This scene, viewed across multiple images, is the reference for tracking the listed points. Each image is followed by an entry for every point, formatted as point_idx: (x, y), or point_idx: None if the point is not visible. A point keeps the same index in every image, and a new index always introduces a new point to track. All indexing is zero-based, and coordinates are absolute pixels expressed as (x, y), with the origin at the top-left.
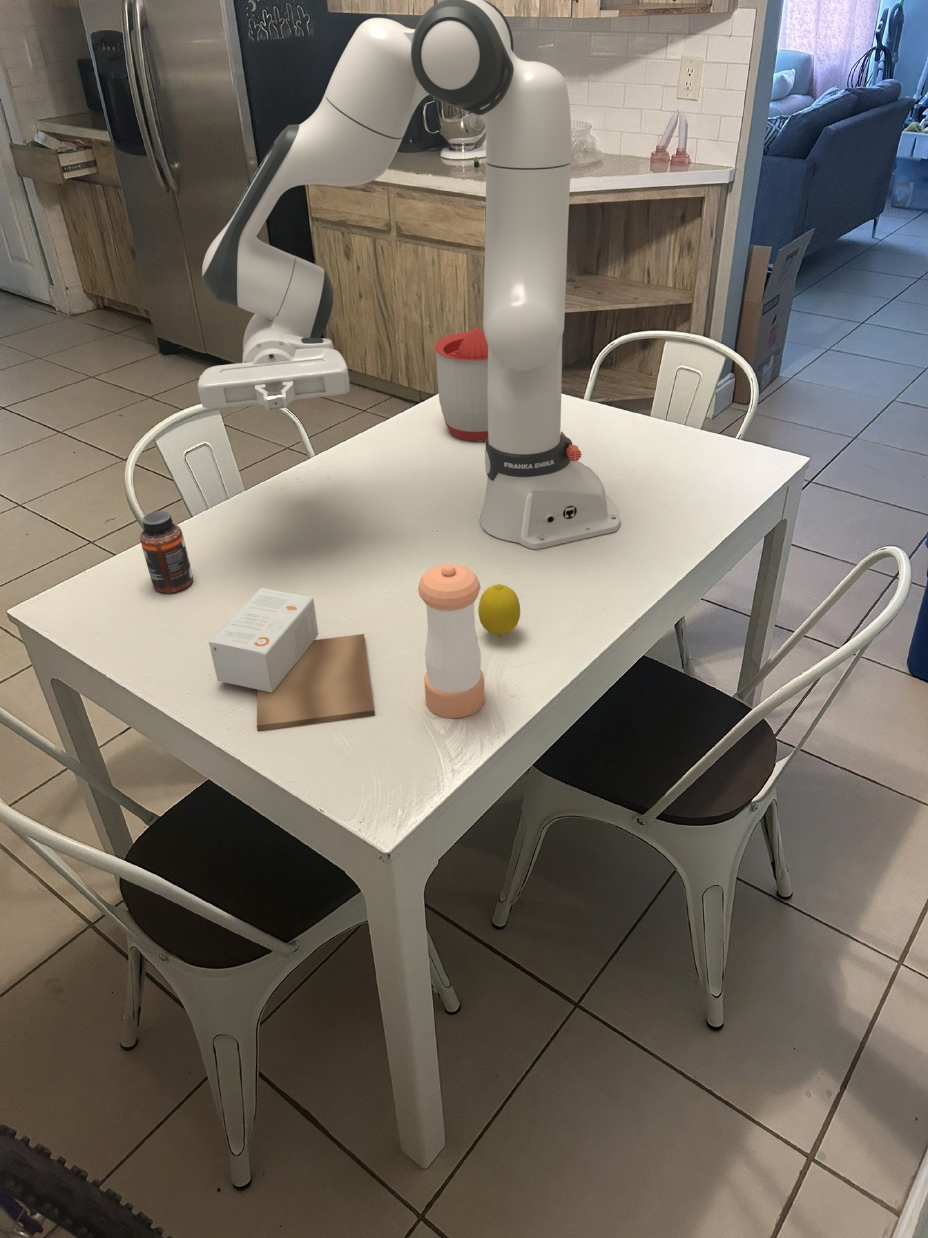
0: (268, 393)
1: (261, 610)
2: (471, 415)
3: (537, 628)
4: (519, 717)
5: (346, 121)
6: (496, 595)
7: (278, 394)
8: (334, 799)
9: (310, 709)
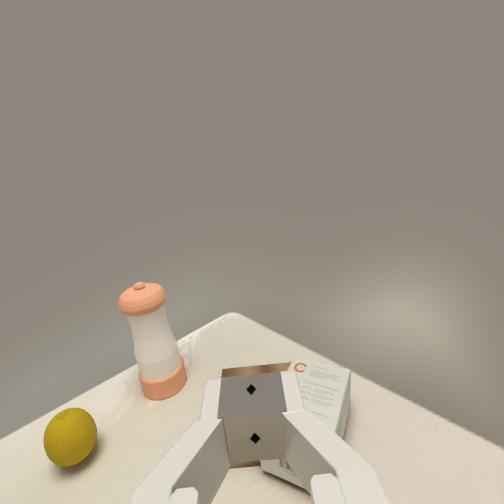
0: (280, 404)
1: (312, 409)
2: None
3: (39, 465)
4: (136, 366)
5: None
6: (73, 409)
7: (234, 389)
8: (253, 326)
9: (266, 371)
